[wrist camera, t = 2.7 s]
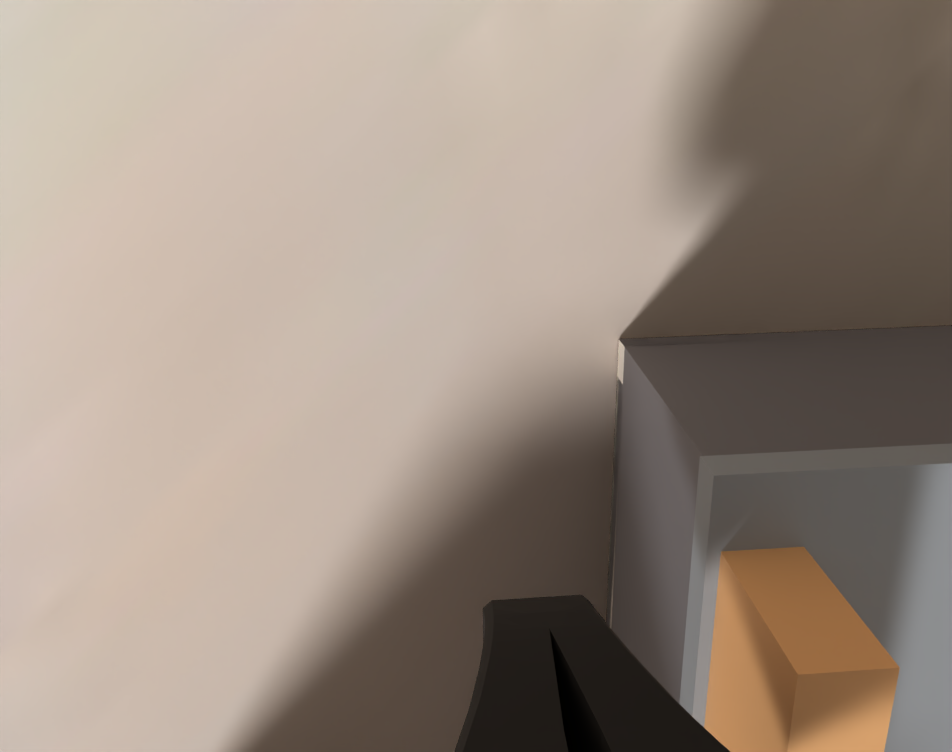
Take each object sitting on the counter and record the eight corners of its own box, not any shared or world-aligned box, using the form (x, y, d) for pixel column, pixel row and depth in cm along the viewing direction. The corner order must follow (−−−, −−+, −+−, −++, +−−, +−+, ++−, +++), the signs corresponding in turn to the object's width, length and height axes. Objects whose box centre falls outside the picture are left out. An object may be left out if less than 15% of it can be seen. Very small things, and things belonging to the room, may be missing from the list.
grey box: (1055, 759, 23) (1240, 962, 18) (598, 794, 23) (657, 1018, 17) (1177, 316, 19) (1463, 420, 14) (618, 338, 18) (705, 459, 13)
